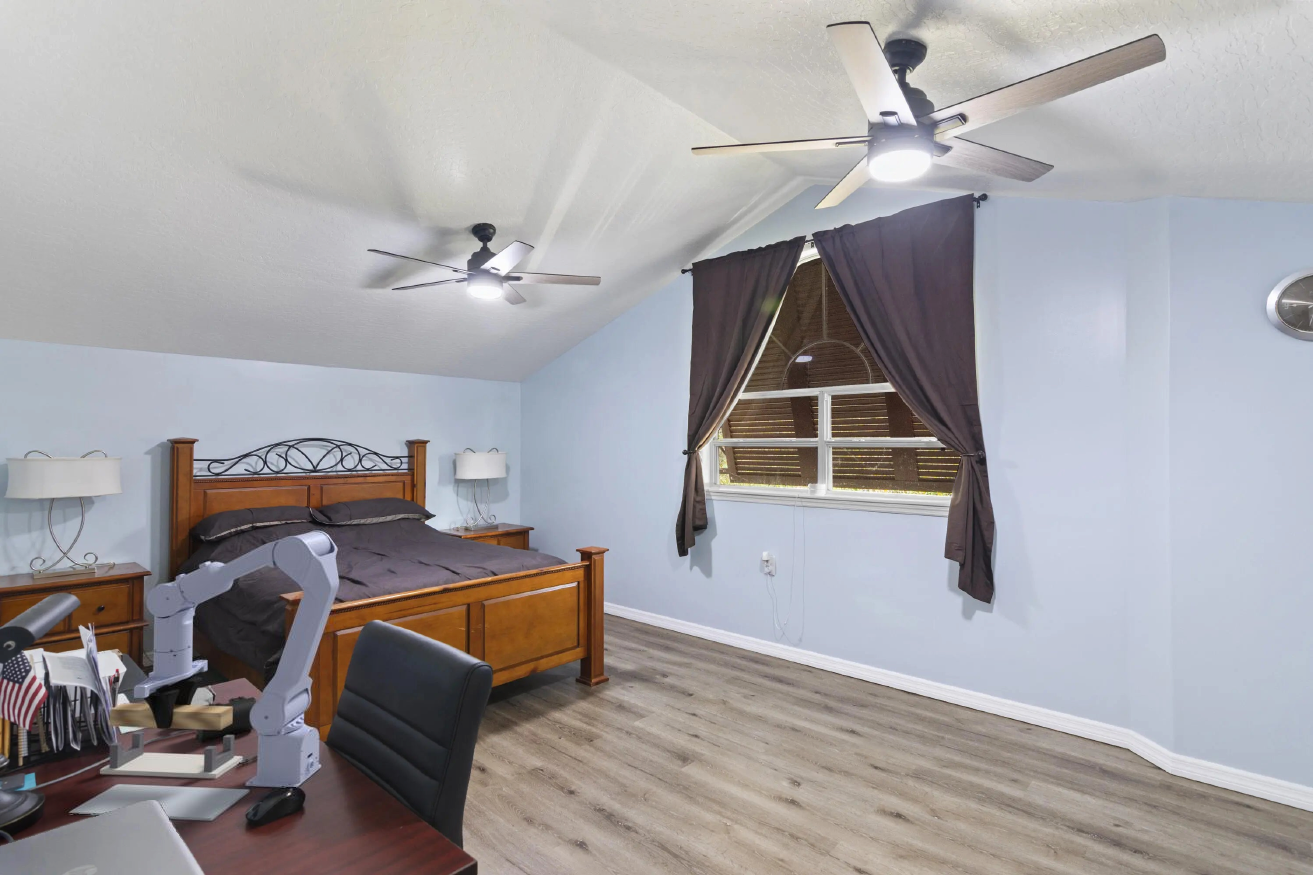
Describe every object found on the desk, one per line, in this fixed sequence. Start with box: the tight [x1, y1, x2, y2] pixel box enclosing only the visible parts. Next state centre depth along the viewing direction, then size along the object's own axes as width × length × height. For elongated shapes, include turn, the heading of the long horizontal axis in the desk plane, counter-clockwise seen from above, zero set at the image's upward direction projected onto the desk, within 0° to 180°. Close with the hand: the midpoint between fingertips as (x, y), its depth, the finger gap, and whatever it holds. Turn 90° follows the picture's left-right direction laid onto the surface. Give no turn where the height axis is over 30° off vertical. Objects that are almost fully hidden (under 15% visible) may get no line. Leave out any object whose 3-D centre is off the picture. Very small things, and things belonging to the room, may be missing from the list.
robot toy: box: [145, 685, 224, 706], centre depth 147 cm, size 12×4×15 cm
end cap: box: [195, 695, 258, 744], centre depth 138 cm, size 10×7×7 cm
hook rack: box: [99, 731, 243, 780], centre depth 124 cm, size 22×7×5 cm, turn 86°
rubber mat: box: [68, 783, 250, 821], centre depth 112 cm, size 24×9×1 cm, turn 86°
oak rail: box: [109, 702, 233, 730], centre depth 121 cm, size 21×3×3 cm, turn 86°
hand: (172, 723), depth 121 cm, fingers closed on oak rail, 3 cm apart
